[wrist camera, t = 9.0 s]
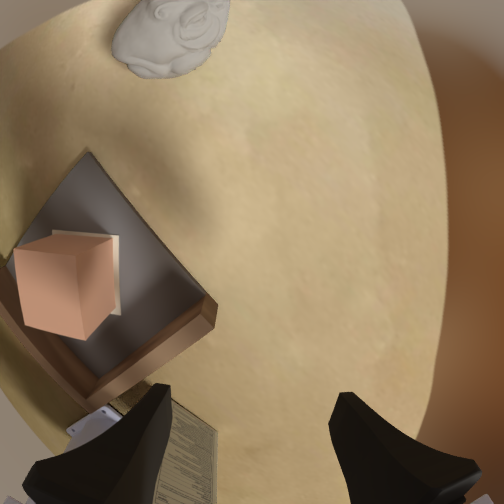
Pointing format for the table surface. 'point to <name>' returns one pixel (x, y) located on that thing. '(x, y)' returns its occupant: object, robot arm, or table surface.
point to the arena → (126, 294)
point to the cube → (66, 283)
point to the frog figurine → (169, 36)
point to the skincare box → (188, 462)
